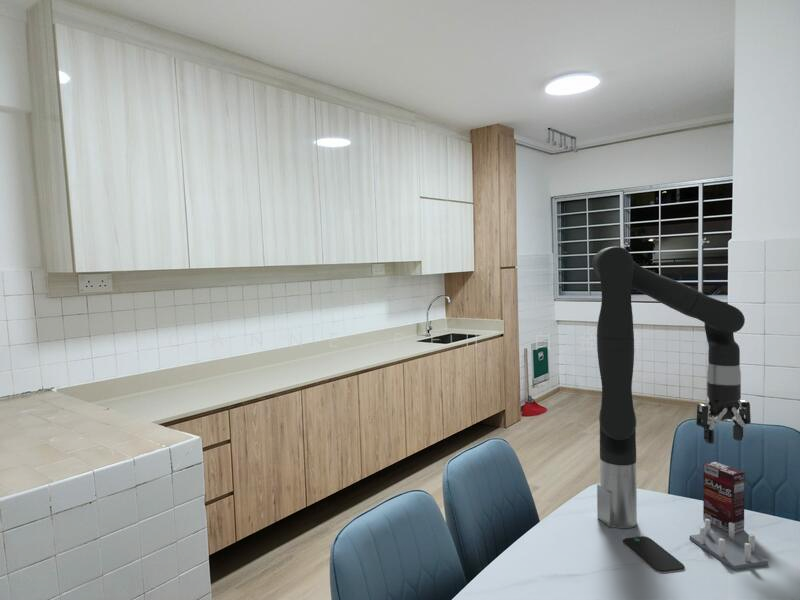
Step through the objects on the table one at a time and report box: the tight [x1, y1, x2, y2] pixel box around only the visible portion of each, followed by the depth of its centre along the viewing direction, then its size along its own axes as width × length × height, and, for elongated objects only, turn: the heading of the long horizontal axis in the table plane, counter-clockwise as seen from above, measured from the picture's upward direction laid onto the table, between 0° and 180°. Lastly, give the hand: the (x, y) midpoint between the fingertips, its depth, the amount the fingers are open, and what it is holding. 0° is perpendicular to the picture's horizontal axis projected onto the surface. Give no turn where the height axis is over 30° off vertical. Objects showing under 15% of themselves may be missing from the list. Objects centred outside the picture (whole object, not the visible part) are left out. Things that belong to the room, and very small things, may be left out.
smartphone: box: [622, 535, 686, 574], centre depth 126 cm, size 8×1×15 cm
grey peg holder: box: [689, 519, 769, 571], centre depth 126 cm, size 9×14×5 cm
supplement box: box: [702, 461, 746, 534], centre depth 138 cm, size 9×5×16 cm, turn 23°
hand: (723, 441), depth 137 cm, fingers open, 8 cm apart
